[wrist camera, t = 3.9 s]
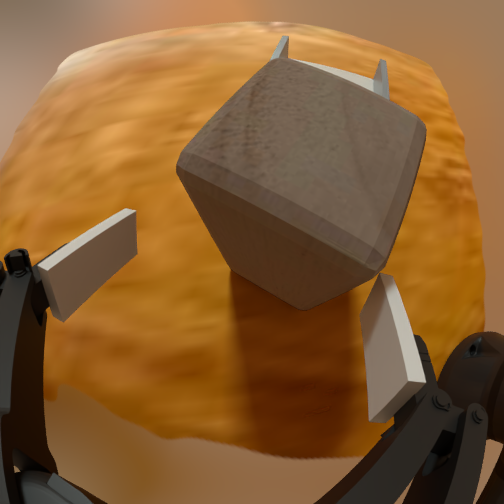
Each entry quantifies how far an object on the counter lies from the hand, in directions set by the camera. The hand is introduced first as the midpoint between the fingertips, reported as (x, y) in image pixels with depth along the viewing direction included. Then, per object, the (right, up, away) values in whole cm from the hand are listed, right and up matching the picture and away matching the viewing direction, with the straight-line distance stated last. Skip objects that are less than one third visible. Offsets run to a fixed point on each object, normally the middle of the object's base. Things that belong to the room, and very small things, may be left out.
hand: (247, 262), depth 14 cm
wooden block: (+4, 0, +17) cm, 17 cm away
